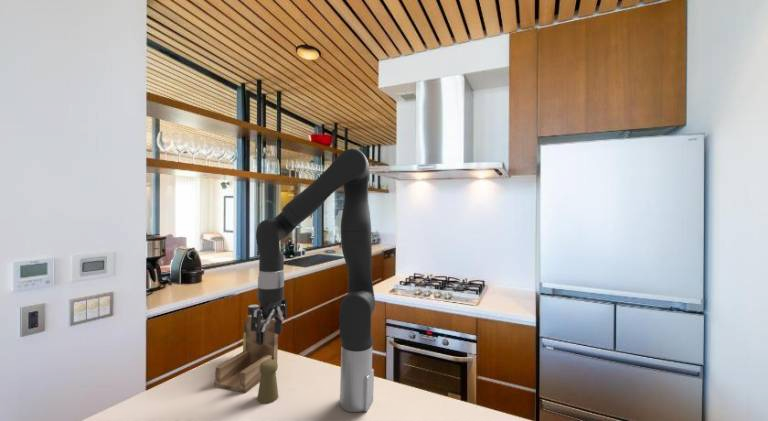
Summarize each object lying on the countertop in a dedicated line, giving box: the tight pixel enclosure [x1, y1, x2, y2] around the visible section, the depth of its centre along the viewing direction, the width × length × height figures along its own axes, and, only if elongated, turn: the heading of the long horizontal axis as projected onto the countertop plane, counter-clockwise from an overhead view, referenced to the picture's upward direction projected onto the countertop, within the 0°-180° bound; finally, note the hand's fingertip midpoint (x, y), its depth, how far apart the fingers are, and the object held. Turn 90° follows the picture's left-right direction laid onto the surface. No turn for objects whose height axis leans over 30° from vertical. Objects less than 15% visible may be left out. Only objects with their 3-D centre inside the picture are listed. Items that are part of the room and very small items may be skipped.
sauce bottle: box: [242, 304, 260, 352], centre depth 122 cm, size 7×6×20 cm
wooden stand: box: [213, 314, 279, 394], centre depth 108 cm, size 12×16×18 cm
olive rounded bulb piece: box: [256, 359, 279, 405], centre depth 96 cm, size 6×6×11 cm
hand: (269, 338), depth 96 cm, fingers open, 8 cm apart
